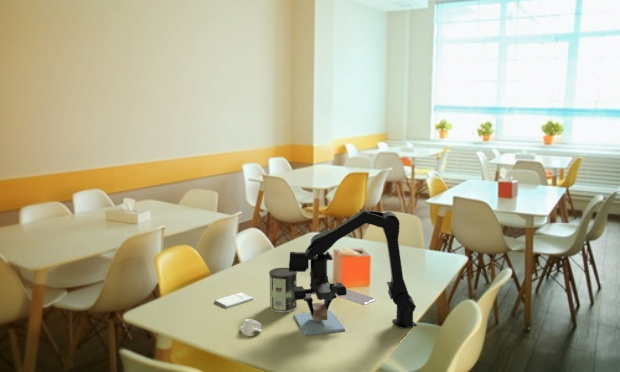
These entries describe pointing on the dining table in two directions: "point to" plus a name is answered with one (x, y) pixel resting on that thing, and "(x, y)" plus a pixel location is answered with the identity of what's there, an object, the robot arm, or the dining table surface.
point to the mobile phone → (358, 297)
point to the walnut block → (319, 312)
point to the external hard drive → (233, 300)
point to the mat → (318, 324)
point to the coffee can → (282, 290)
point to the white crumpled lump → (250, 327)
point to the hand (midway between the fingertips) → (318, 314)
